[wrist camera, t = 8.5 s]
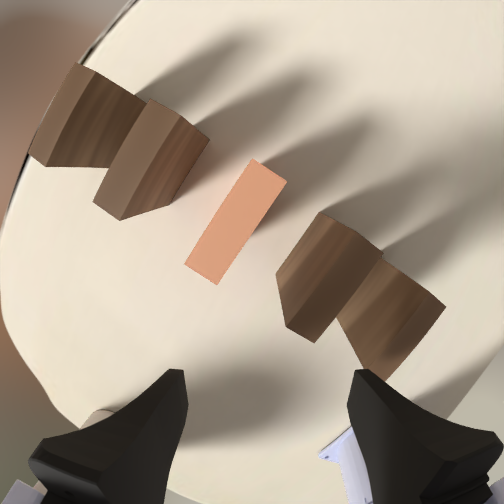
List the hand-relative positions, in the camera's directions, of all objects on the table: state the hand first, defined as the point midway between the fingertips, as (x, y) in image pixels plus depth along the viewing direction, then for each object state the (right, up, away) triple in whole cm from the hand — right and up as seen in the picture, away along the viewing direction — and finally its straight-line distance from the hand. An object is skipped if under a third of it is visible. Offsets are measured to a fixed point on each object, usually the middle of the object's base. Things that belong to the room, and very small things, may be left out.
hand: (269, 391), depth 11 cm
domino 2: (-5, +11, +7) cm, 14 cm away
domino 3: (-1, +9, +8) cm, 12 cm away
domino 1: (-10, +14, +6) cm, 18 cm away
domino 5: (+7, +3, +9) cm, 12 cm away
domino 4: (+3, +6, +8) cm, 10 cm away
